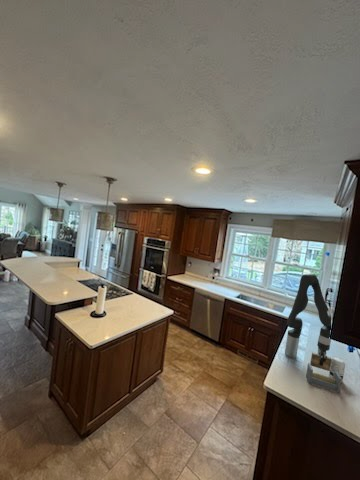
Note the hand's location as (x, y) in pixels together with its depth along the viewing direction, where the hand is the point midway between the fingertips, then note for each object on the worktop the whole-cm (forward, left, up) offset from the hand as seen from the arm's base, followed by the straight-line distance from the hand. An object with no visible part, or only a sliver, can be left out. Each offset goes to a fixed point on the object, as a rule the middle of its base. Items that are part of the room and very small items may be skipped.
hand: (320, 364), depth 158 cm
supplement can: (-3, +11, -9) cm, 15 cm away
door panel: (0, 0, -3) cm, 3 cm away
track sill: (+11, 0, -9) cm, 14 cm away
